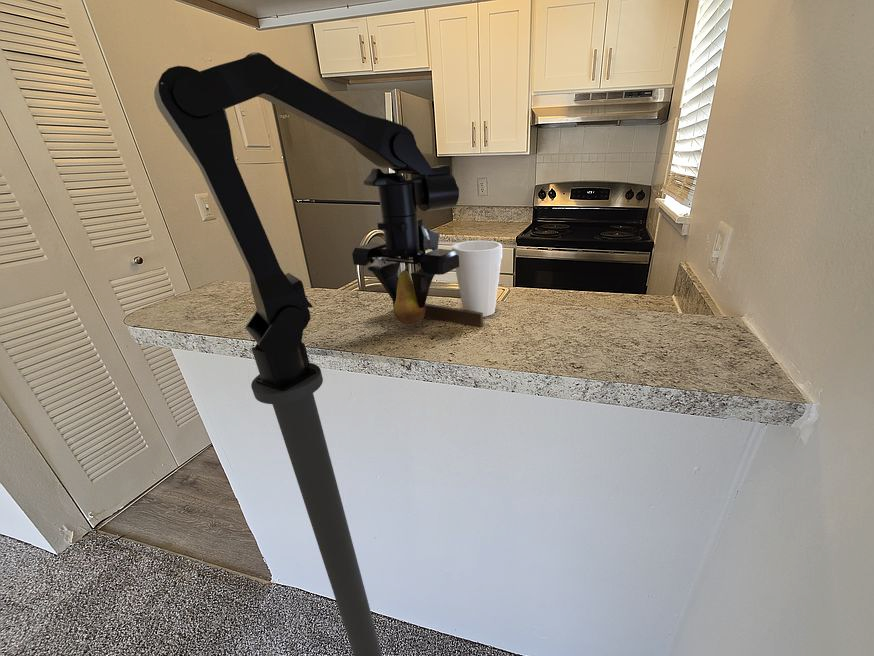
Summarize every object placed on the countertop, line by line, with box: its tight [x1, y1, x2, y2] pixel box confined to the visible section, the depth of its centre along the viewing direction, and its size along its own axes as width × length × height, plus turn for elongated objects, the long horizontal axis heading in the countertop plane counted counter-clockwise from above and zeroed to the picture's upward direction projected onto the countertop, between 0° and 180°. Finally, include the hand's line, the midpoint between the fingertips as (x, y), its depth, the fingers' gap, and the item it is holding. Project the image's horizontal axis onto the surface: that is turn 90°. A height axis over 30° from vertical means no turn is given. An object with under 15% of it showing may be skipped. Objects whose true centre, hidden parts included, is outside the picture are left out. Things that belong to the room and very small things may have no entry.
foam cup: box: [451, 239, 503, 318], centre depth 78 cm, size 10×9×13 cm
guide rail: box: [391, 299, 484, 328], centre depth 78 cm, size 1×20×2 cm, turn 63°
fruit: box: [393, 257, 425, 326], centre depth 72 cm, size 6×6×12 cm
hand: (409, 305), depth 73 cm, fingers closed on fruit, 5 cm apart
